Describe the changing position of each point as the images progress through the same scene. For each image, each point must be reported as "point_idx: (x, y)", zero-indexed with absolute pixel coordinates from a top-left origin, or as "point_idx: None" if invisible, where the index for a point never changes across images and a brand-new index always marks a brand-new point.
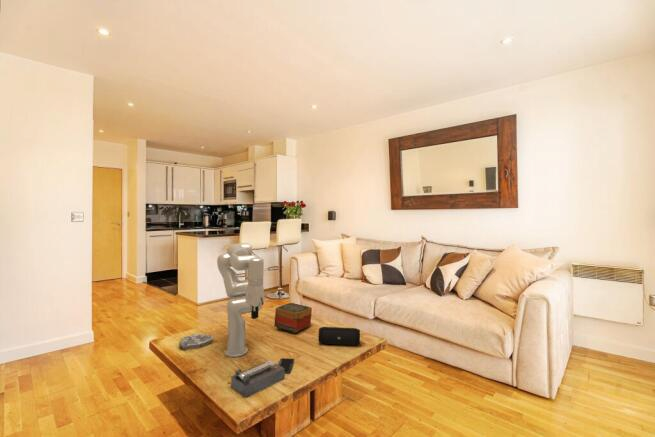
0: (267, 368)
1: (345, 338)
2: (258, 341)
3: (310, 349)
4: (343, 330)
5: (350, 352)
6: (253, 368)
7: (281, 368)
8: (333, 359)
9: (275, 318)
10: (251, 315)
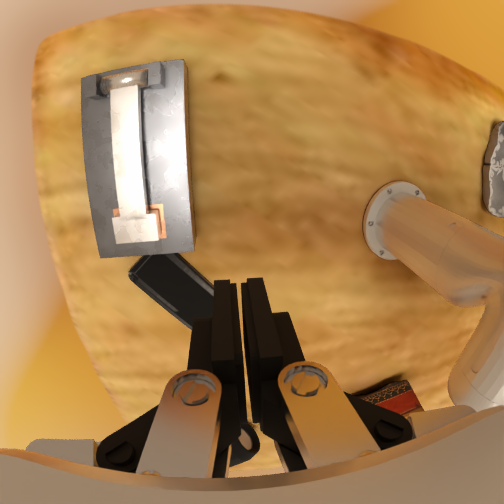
0: None
1: None
2: (394, 312)
3: None
4: None
5: None
6: (136, 142)
7: (105, 248)
8: (136, 393)
9: (413, 397)
10: (260, 298)
